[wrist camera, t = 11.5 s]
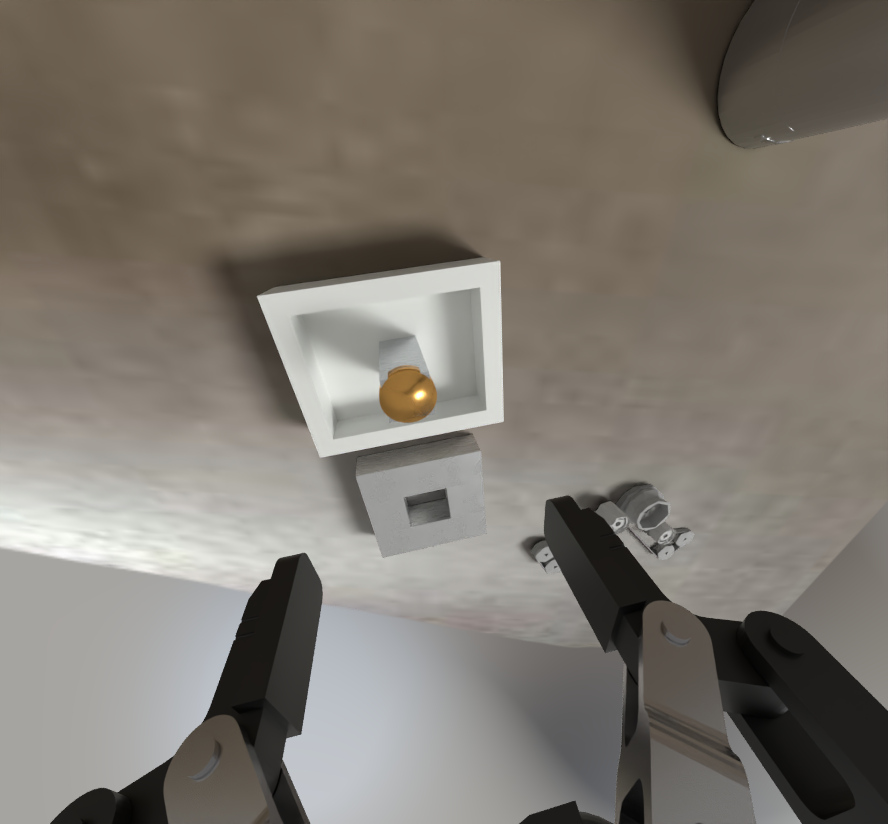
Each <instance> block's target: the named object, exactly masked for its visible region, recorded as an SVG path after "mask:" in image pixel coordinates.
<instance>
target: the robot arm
mask: <svg viewBox="0 0 888 824" xmlns="http://www.w3.org/2000/svg"><path fill="white" fill-rule="evenodd" d="M718 112H719V117H720V121H721V125H722V128H723V130H724V132H725V133H726V135H727V137H728V138H729V139H730V140H731V141H732V142H733V143H734V144H735V145H738V146H740V147H743V148H753V149H755V148H760V147H764V146H769V145H774V144H781V143H786V142H790V141H794V140H796V139H800V138H805V137H809V136H814V135H818V134H823V133H827V132H832V131H836V130H841V129H845V128H849V127H854V126H858V125H863V124H867V123H872V122H876V121H880V120H885V119H888V0H755V1H754V2H753V4H752V5H751V7H750V8H749V10H748V11H747V13H746V14H745V16H744V17H743V19H742V20H741V22H740V24H739V26H738V28H737V30H736V32H735V34H734V36H733V38H732V40H731V43H730V46H729V48H728V51H727V54H726V56H725V59H724V63H723V67H722V71H721V76H720V81H719V90H718ZM544 535H545V539H546V542H547V545H548V547H549V549H550V551H551V553H552V555H553V556H554V558H555V560H556V562H557V564H558V566H559V568H560V569H561V571H562V573H563V575H564V577H565V579H566V581H567V583H568V584H569V586H570V588H571V590H572V592H573V594H574V596H575V597H576V599H577V601H578V603H579V605H580V607H581V609H582V611H583V612H584V614H585V616H586V618H587V620H588V622H589V624H590V625H591V627H592V629H593V631H594V633H595V635H596V637H597V639H598V640H599V642H600V644H601V646H602V648H603V650H604V652H605V653H607V652H611V651H615V650H618V651H619V653H620V655H621V657H622V658H623V661H624V673H623V704H622V705H623V706H622V733H621V734H622V736H621V751H620V758H619V763H618V770H617V781H616V800H615V801H616V802H615V824H756V821H755V816H754V810H753V804H752V799H751V794H750V789H749V784H748V780H747V776H746V773H745V770H744V767H743V765H742V762H741V761H740V759H739V757H738V756H737V755H736V754H734V753H733V752H732V750H731V748H730V745H729V742H728V739H727V733H726V727H725V720H724V714H723V711H725V712H727V713H728V715H729V716H730V718H731V719H732V720H733V722H734V723H735V725H736V726H737V728H738V729H739V731H740V732H741V734H742V735H743V737H744V738H745V740H746V741H747V743H748V744H749V746H750V747H751V749H752V750H753V752H754V753H755V755H756V756H757V758H758V759H759V761H760V762H761V763H762V765H763V767H764V768H765V770H766V771H767V772H768V774H769V775H770V777H771V778H772V780H773V781H774V783H775V784H776V786H777V787H778V789H779V790H780V792H781V793H782V794H783V796H784V798H785V799H786V801H787V802H788V804H789V805H790V807H791V808H792V809H793V811H794V813H795V814H796V815H797V817H798V819H799V820H800V822H801V823H802V824H888V711H887V710H886V709H885V708H884V707H883V706H882V705H881V704H880V703H879V702H878V701H877V700H876V699H875V698H874V697H873V696H872V695H871V694H870V693H869V692H868V691H867V690H866V689H865V688H864V687H863V686H862V685H861V684H860V683H859V682H858V681H857V680H856V679H855V678H854V677H853V676H852V675H851V674H850V673H849V672H848V671H847V670H846V669H845V668H844V667H843V666H842V665H841V664H840V663H839V662H838V661H837V660H836V659H835V658H834V657H833V656H832V655H831V654H830V653H829V652H828V651H827V650H826V649H825V648H824V647H823V646H822V645H821V644H820V643H819V642H818V641H817V640H816V639H815V638H814V637H813V636H812V635H811V634H809V633H808V632H807V631H806V630H805V629H803V628H802V627H801V626H799V625H798V624H796V623H795V622H793V621H791V620H789V619H788V618H785V617H783V616H781V615H779V614H776V613H772V612H768V611H755V612H751V613H750V614H748V616H747V617H746V618H745V620H744V621H743V622H741V621H732V620H722V619H713V618H705V617H700V616H697V615H694V614H692V613H691V612H690V611H688V610H687V609H685V608H684V607H682V606H680V605H678V604H675V603H673V602H671V601H670V600H669V599H668V598H667V597H666V596H665V595H664V594H663V593H662V592H661V591H660V589H659V588H658V587H657V585H656V584H655V583H654V582H653V580H652V579H651V578H650V577H649V575H648V574H647V573H646V571H645V570H644V569H643V568H642V566H641V565H640V564H639V562H638V561H637V560H636V559H635V557H634V556H633V555H632V554H631V552H630V551H629V550H628V548H627V547H625V546H624V543H623V542H622V541H621V540H620V538H619V537H618V536H617V535H615V532H614V531H613V529H612V528H611V527H610V525H609V524H608V523H607V522H606V520H605V519H604V518H603V517H601V516H600V515H598V514H597V513H595V512H594V511H593V510H591V509H590V508H586V509H582V510H581V509H580V508H579V507H578V505H577V504H576V502H575V501H574V500H573V498H572V497H570V496H563V497H558V498H554V499H549V500H547V501H546V506H545V520H544ZM322 596H323V593H322V584H321V581H320V578H319V576H318V574H317V573H316V571H315V569H314V567H313V565H312V563H311V561H310V559H309V557H308V556H307V554H306V553H301V554H296V555H292V556H287V557H283V558H279V559H278V560H277V562H276V564H275V567H274V570H273V574H272V577H271V579H268V580H264V581H261V583H260V584H259V585H258V587H257V588H256V590H255V591H254V593H253V594H252V595H251V597H250V598H249V600H248V603H247V605H246V608H245V611H244V614H243V617H242V622H241V623H240V625H239V628H238V630H237V633H236V640H234V641H233V644H232V647H231V650H230V653H229V656H228V658H227V661H226V664H225V667H224V669H223V672H222V675H221V678H220V681H219V684H218V686H217V689H216V692H215V695H214V697H213V700H212V703H211V706H210V708H209V711H208V713H207V715H206V717H205V719H204V721H203V722H202V724H201V725H199V726H198V727H197V728H196V729H195V730H194V731H193V732H192V733H191V734H190V735H189V736H188V737H187V738H186V739H185V741H184V742H183V743H182V745H181V746H180V748H179V749H178V751H177V752H176V754H175V755H174V756H173V757H172V758H170V759H169V760H167V761H166V762H165V763H163V764H162V765H160V766H159V767H157V768H155V769H154V770H152V771H151V772H149V773H148V774H146V775H144V776H143V777H141V778H140V779H138V780H136V781H135V782H133V783H132V784H130V785H128V786H127V787H125V788H124V789H122V790H121V791H119V792H114V791H112V790H109V789H106V788H98V789H94V790H92V791H90V792H87V793H86V794H84V795H82V796H81V797H79V798H77V799H76V800H75V801H74V802H72V803H71V804H70V805H68V806H67V807H66V808H65V809H64V810H63V811H62V812H61V813H60V814H59V815H58V816H57V817H56V818H55V819H54V820H53V821H52V822H51V823H50V824H310V822H309V819H308V817H307V815H306V813H305V810H304V808H303V806H302V803H301V801H300V799H299V796H298V794H297V791H296V789H295V787H294V785H293V782H292V780H291V777H290V775H289V773H288V771H287V768H286V766H285V764H284V762H283V760H282V758H283V752H284V747H285V742H286V738H289V737H293V736H297V735H301V731H302V726H303V720H304V713H305V706H306V700H307V694H308V687H309V681H310V675H311V669H312V662H313V656H314V649H315V642H316V637H317V630H318V624H319V618H320V611H321V605H322ZM520 824H613V823H611V822H609V821H607V820H605V819H603V818H601V817H599V816H595V815H592V814H589V813H586V812H579V810H578V807H577V805H576V801H572V802H569V803H566V804H563V805H560V806H557V807H554V808H550V809H547V810H544V811H541V812H538V813H535V814H532V815H529V816H528V817H527V818H525V819H524V820H523V821H522V822H521V823H520Z"/></svg>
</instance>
